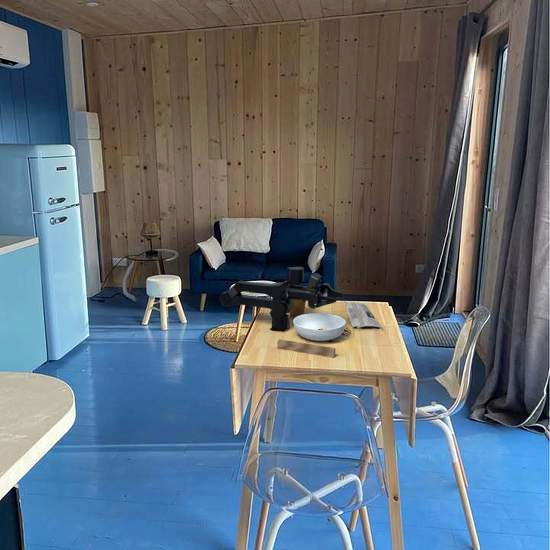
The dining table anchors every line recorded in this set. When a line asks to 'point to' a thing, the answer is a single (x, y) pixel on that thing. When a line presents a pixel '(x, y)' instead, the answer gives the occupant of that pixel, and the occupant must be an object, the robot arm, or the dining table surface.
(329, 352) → the walnut bar
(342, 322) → the serving bowl
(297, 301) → the disposable coffee cup
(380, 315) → the dining table surface
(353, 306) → the newspaper
